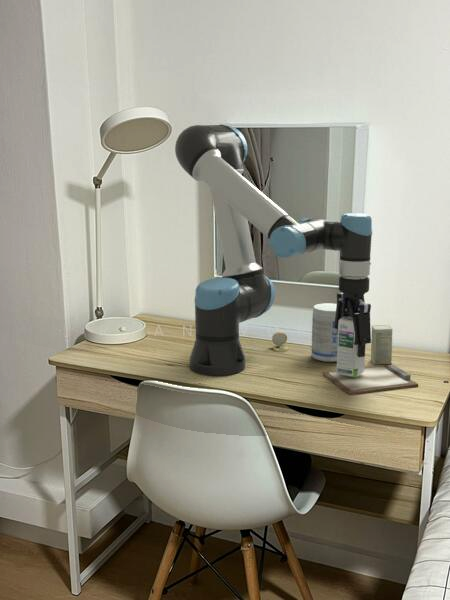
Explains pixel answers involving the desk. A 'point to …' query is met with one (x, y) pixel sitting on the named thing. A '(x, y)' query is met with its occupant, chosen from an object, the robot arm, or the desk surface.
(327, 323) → the supplement tub
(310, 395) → the desk surface
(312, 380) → the desk surface
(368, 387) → the clipboard
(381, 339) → the skincare box
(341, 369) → the syrup box
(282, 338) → the eyeshadow
